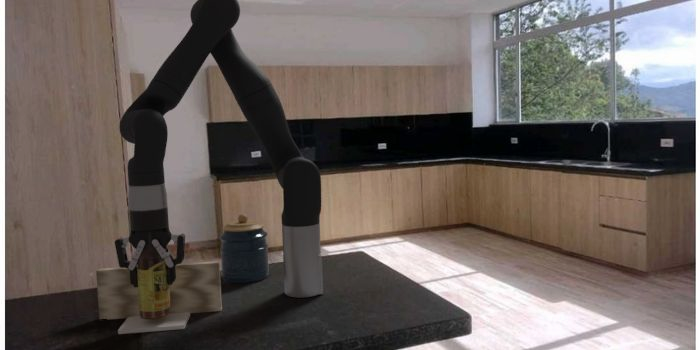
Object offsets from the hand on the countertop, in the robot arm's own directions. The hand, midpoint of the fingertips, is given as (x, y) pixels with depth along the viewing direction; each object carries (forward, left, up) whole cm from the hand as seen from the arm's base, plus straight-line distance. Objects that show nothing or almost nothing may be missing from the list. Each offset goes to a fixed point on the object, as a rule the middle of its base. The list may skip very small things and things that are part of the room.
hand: (153, 284), depth 113 cm
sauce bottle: (0, 0, -7) cm, 7 cm away
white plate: (0, 0, -9) cm, 9 cm away
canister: (-17, -33, -9) cm, 38 cm away
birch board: (0, -6, -9) cm, 11 cm away
